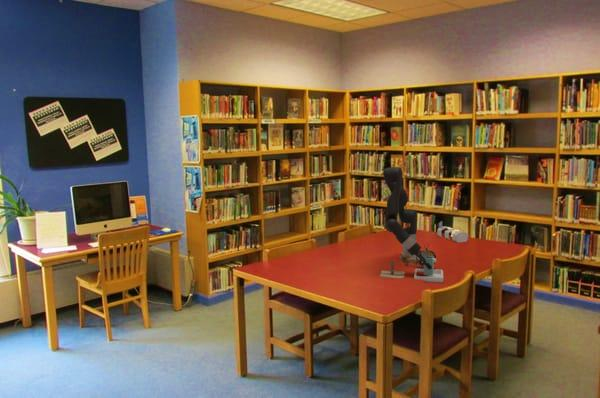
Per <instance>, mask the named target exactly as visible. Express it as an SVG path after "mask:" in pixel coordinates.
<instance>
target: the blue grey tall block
mask: <svg viewBox="0 0 600 398" xmlns="http://www.w3.org/2000/svg"><path fill="white" fill-rule="evenodd" d="M425 259H426V261H427V262H428V263H429V264H430V265H431V266H432V269H430V270H429V269H428V268H427V267H426V266H425V265H424V268H423V269H424V272H423V275H424V276H428V275H431V276H432V275H433V274H434V270H435V264H434V262H435V263H437V258H436V259H435V258H434V257H432V256H427V257H426V256H425Z"/></svg>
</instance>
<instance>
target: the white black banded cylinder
mask: <svg viewBox="0 0 600 398" xmlns="http://www.w3.org/2000/svg"><path fill="white" fill-rule="evenodd" d="M445 229H447V230H445ZM443 230H445V231H444V238H445V239H446V240H449V241H450V240H451V239H450V237H452V241H453V242H455V243H465V242H467V241H469V233H468V232H465V231H462V230H458V229H455V228H453V227H449V226H446V225H445V226H443V221H442V220H441V221H440V222H439V223H438V228H437V232H436V233H437V236H438V237H440V238H443V236H442V232H443Z"/></svg>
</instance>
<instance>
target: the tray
mask: <svg viewBox="0 0 600 398" xmlns="http://www.w3.org/2000/svg"><path fill="white" fill-rule="evenodd" d="M418 273H424V268H415V269H414V277H413V279H414V280H421V281H422V280H423V283H432V284H433V283H434V284H435V283H436V284H444V270H443V269H434V274H433V275H432V276H431V275H426V276H419V275H417V274H418Z"/></svg>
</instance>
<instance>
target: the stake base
mask: <svg viewBox="0 0 600 398" xmlns="http://www.w3.org/2000/svg"><path fill="white" fill-rule="evenodd" d="M405 273H406V271H404V270H395V261H394V260H391V261H390V270H381V271H380V275H379V278H389V279H391V278H392V279H405Z"/></svg>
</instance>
